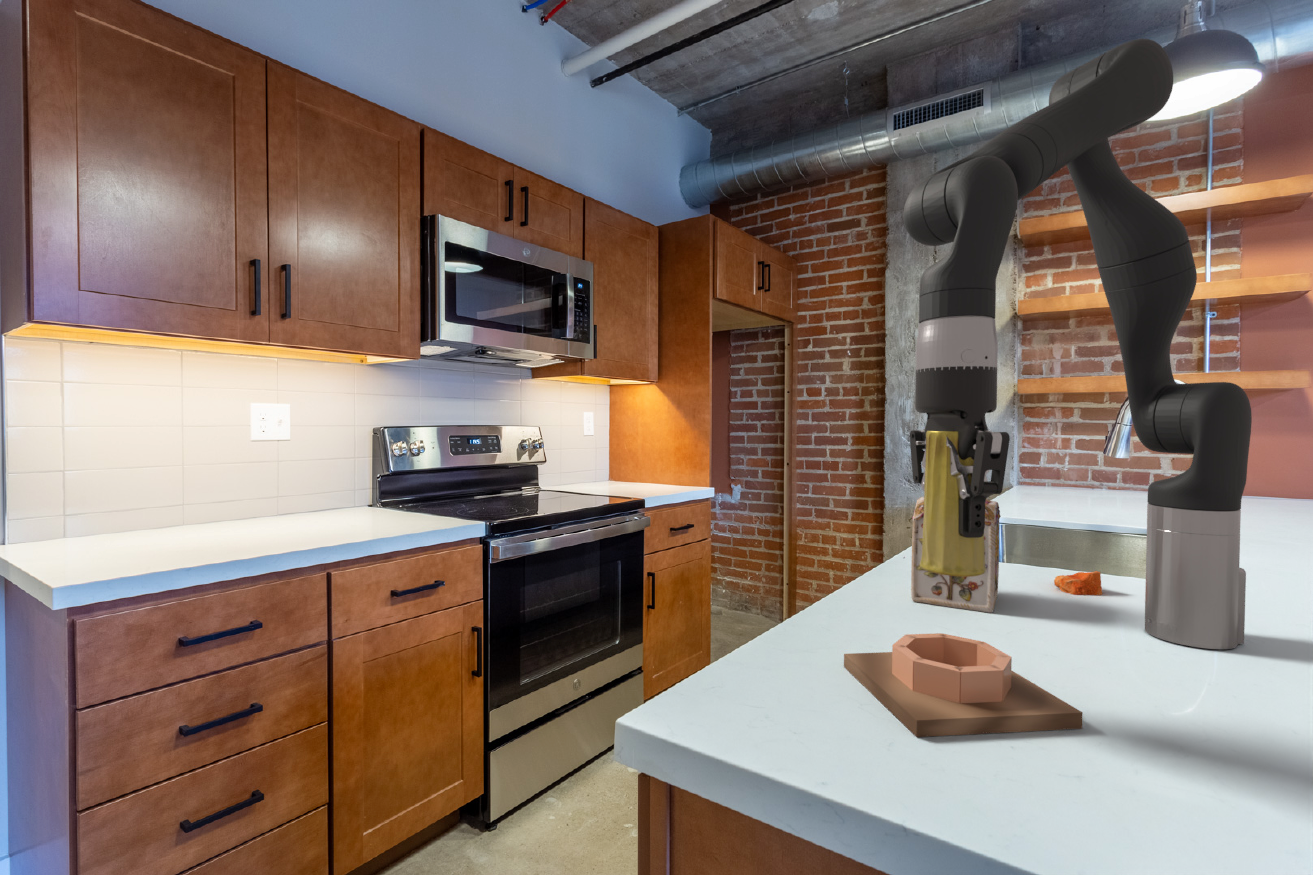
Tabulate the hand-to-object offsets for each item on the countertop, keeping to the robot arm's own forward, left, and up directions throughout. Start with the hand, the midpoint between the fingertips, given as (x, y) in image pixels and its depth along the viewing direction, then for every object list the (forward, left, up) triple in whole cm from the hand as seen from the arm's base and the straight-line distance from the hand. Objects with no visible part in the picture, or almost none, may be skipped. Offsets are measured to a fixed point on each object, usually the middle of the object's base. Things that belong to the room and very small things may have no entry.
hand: (952, 530), depth 64 cm
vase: (0, 0, -4) cm, 4 cm away
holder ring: (0, 0, -15) cm, 15 cm away
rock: (-44, -36, -18) cm, 60 cm away
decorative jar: (-21, -33, -17) cm, 43 cm away
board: (0, 0, -17) cm, 17 cm away
